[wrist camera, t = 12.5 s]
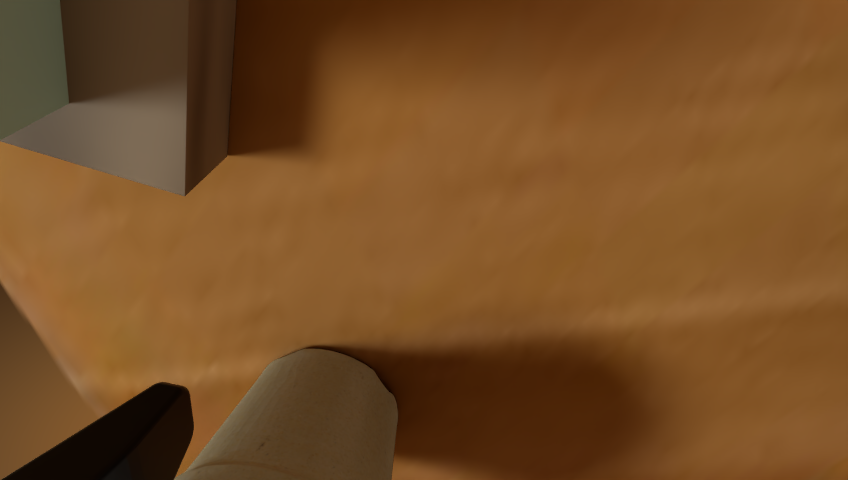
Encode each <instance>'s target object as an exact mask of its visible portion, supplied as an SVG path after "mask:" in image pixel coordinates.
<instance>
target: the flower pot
mask: <svg viewBox="0 0 848 480" xmlns="http://www.w3.org/2000/svg"><path fill="white" fill-rule="evenodd" d="M397 423H398V409H397V404H396V400H395V397H394V395H393V394H392V393H390V392H389V391H388V390H387V389H386V388H385V386H384V385H383V384H382V382H381V381H380V379H379V378H378V376H377V375H376V373H375V371H374V370H372V369H371V368H370V367H368V366H367V365H365V364H363V363H362V362H360V361H358V360H356V359H354V358H352V357H350V356H347V355H344V354H341V353H338V352H334V351H329V350H323V349H302V350H299V351H297V352H294V353H292V354H290V355H287V356H284V357H282V358H279V359H277V360H274V361H273V362H271V363H270V364H269V365H268V366H267V367H266V368H265V370H264V371H263V373H262V374H261V375H260V377H259V378H258V380H257V381H256V382H255V384H254V385H253V386H252V387H251V389H250V390H249V391H248V392H247V394H246V395H245V396H244V398H243V399H242V400H241V401H240V403H239V404H238V405H237V407H236V408H235V409H234V410H233V412H232V413H231V414H230V416H229V417H228V418H227V419H226V421H225V422H224V423H223V425H222V426H221V427H220V428H219V430H218V431H217V432H216V433H215V435H214V436H213V437H212V439H211V440H210V441H209V443H208V444H207V445H206V446H205V448H204V449H203V450H202V452H201V453H200V454H199V455H198V457H197V458H196V459H195V461H194V462H193V463H192V464H191V465H190V467H189V468H188V469H187V470H186V472H184V473H182V474H181V475H179V476H178V477H176V478H175V479H174V480H391V479H392V469H393V459H394V449H395V438H396V429H397Z"/></svg>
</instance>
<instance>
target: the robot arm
mask: <svg viewBox="0 0 848 480" xmlns="http://www.w3.org/2000/svg"><path fill="white" fill-rule="evenodd" d="M193 430H194V422H193V415H192V407H191V400H190V394H189V391H188V389H187V388H186V387H184V386H180V385H175V384H171V383H166V382H160V383H157V384H154V385H152V386H151V387H149V388H148V389H146V390H144V391H143V392H141V393H140V394H138V395H136V396H135V397H133V398H132V399H130V400H128V401H127V402H125V403H124V404H122V405H120V406H119V407H117V408H116V409H114V410H112V411H111V412H109V413H108V414H106V415H104V416H103V417H101V418H100V419H98V420H96V421H95V422H93V423H92V424H90V425H88V426H87V427H85V428H84V429H82V430H80V431H79V432H77V433H75V434H74V435H72V436H71V437H69V438H67V439H66V440H64V441H63V442H61V443H59V444H58V445H56V446H55V447H53V448H51V449H50V450H48V451H47V452H45V453H44V454H42V455H40V456H39V457H37V458H35V459H34V460H32V461H31V462H29V463H27V464H26V465H24V466H23V467H21V468H19V469H18V470H16V471H15V472H13V473H11V474H10V475H8V476H7V477H5V478H3V479H2V480H174V478H175V476H176V474H177V471H178V469H179V467H180V464H181V462H182V460H183V458H184V455H185V453H186V451H187V448H188V446H189V444H190V441H191V439H192V435H193Z"/></svg>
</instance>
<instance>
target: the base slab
mask: <svg viewBox="0 0 848 480" xmlns="http://www.w3.org/2000/svg"><path fill="white" fill-rule="evenodd" d="M236 2H237V0H60V8H61V19H62V30H63V41H64V52H65V63H66V75H67V86H68V97H69V104H67V105H65V106H63V107H62V108H60V109H58V110H56V111H54V112H52V113H50V114H48V115H47V116H45V117H43V118H41V119H39V120H37V121H35V122H33V123H32V124H30V125H28V126H26V127H24V128H22V129H20V130H18V131H17V132H15V133H13V134H11V135H9V136H7V137H5V138H3V139H2V140H0V141H1V142H5V143H8V144H11V145H15V146H18V147H21V148H25V149H28V150H31V151H35V152H38V153H41V154H45V155H48V156H52V157H55V158H58V159H62V160H65V161H68V162H72V163H75V164H78V165H82V166H85V167H88V168H92V169H95V170H98V171H102V172H105V173H108V174H112V175H115V176H118V177H122V178H125V179H129V180H132V181H135V182H139V183H142V184H145V185H149V186H152V187H155V188H159V189H162V190H165V191H169V192H172V193H175V194H179V195H182V196H186V195H187V194H188V193H189V192H190V191H191V190H192V189H193V188H194V187H195V186H196V185H197V184H198V183H199V182H200V181H201V180H203V179H204V178H205V177H206V176H207V175H208V174H209V173H210V172H211V171H212V170H213V169H214V168H215V167H216V166H217V165H218V164H219V163H221V162H222V161H223V160H224V159H225V158H226V157H227V149H228V133H229V117H230V100H231V84H232V67H233V51H234V35H235V18H236Z"/></svg>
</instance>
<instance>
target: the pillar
mask: <svg viewBox="0 0 848 480" xmlns="http://www.w3.org/2000/svg"><path fill="white" fill-rule="evenodd" d="M67 104H69V97H68V86H67V75H66V63H65V52H64V41H63V30H62V19H61V8H60V0H0V140H2V139H3V138H5V137H7V136H9V135H11V134H13V133H15V132H17V131H18V130H20V129H22V128H24V127H26V126H28V125H30V124H32V123H33V122H35V121H37V120H39V119H41V118H43V117H45V116H47V115H48V114H50V113H52V112H54V111H56V110H58V109H60V108H62V107H63V106H65V105H67Z"/></svg>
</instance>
